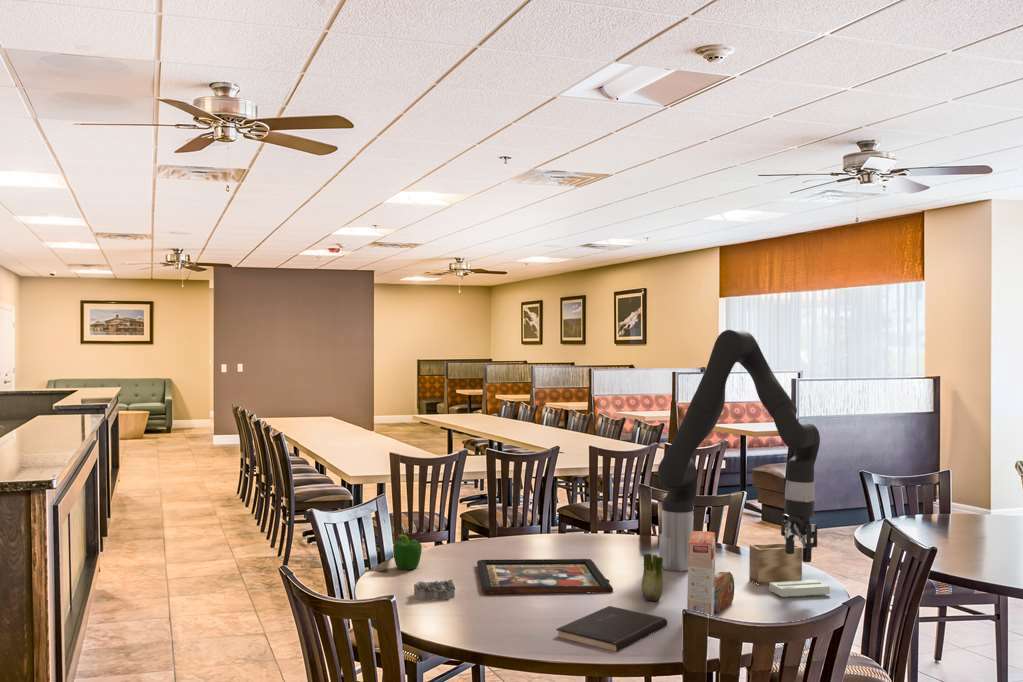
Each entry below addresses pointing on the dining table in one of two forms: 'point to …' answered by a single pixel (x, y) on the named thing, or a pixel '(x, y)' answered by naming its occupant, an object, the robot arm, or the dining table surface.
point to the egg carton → (434, 590)
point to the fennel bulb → (652, 577)
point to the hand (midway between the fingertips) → (798, 557)
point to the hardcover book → (612, 628)
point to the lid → (799, 588)
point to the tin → (723, 591)
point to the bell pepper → (407, 553)
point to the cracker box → (701, 572)
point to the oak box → (774, 563)
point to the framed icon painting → (541, 576)
